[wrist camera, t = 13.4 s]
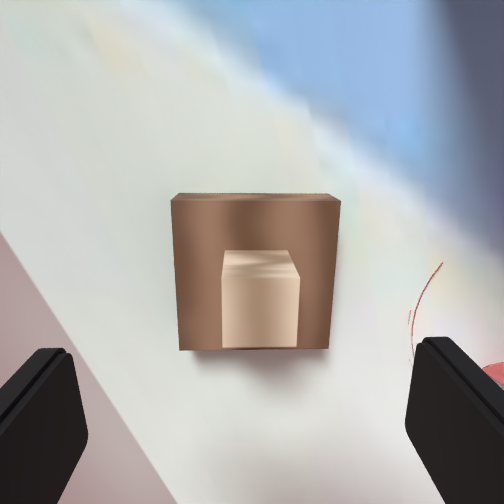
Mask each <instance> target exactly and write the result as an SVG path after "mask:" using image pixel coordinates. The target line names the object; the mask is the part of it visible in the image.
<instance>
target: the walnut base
mask: <svg viewBox="0 0 504 504" xmlns="http://www.w3.org/2000/svg"><path fill="white" fill-rule="evenodd" d="M340 206H341V201H340V200H338V199H336V198H335V197H333V196H331V195H330V194H270V193H179V194H177V195H176V196H175V197H174V198H173V199H172V200H171V216H172V233H173V250H174V267H175V284H176V301H177V317H178V334H179V351H181V350H257V349H328V348H329V336H330V324H331V312H332V300H333V289H334V277H335V265H336V253H337V241H338V229H339V218H340ZM225 250H288V252H289V255H290V257H291V259H292V261H293V263H294V266H295V268H296V270H297V272H298V274H299V277H300V291H299V309H298V327H297V345H296V347H233V348H223V347H222V282H221V278H222V270H223V261H224V253H225Z"/></svg>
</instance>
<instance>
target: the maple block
mask: <svg viewBox="0 0 504 504" xmlns="http://www.w3.org/2000/svg"><path fill="white" fill-rule="evenodd" d="M221 282H222V347H223V348H233V347H296V345H297V327H298V309H299V291H300V277H299V274H298V272H297V270H296V268H295V266H294V263H293V261H292V259H291V257H290V255H289V252H288V250H225V253H224V261H223V270H222V278H221Z"/></svg>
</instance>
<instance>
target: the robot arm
mask: <svg viewBox="0 0 504 504" xmlns="http://www.w3.org/2000/svg"><path fill="white" fill-rule="evenodd" d="M405 428H406V432H407V434H408V437H409V439H410V440H411V442H412V444H413V446H414V448H415V449H416V451H417V453H418V455H419V457H420V458H421V460H422V462H423V464H424V466H425V468H426V469H427V471H428V473H429V475H430V477H431V478H432V480H433V482H434V484H435V486H436V488H437V489H438V491H439V493H440V495H441V497H442V498H443V500H444V502H445V504H504V391H503V390H502V389H501V388H500V387H499V386H498V385H497V384H496V383H495V382H494V381H493V380H492V379H491V378H490V377H489V376H488V375H487V374H486V373H485V372H484V371H483V370H482V369H481V368H480V367H479V366H478V365H477V364H476V363H475V362H474V361H473V360H472V359H471V358H470V357H469V356H468V355H467V354H466V353H465V352H464V351H463V350H462V349H461V348H460V347H459V346H458V345H456V344H455V343H454V342H453V341H452V340H451V339H450V338H449V337H426V338H424V339H423V341H422V343H418V344H417V346H416V351H415V358H414V365H413V371H412V378H411V385H410V391H409V398H408V404H407V411H406V418H405ZM87 440H88V429H87V425H86V420H85V415H84V410H83V405H82V401H81V395H80V391H79V386H78V381H77V376H76V371H75V366H74V362H73V357H72V355H71V354H70V353H66V351H65V349H63V348H41V349H38V350H37V351H36V352H35V353H34V354H33V355H32V356H31V357H30V358H29V359H28V360H27V361H26V362H25V363H24V364H23V365H22V366H21V367H20V369H18V370H17V371H16V373H15V374H14V375H13V376H12V377H11V378H10V379H9V380H8V381H7V382H6V383H5V384H4V385H3V386H2V387H1V388H0V504H57V503H58V501H59V499H60V497H61V495H62V493H63V491H64V489H65V487H66V485H67V483H68V481H69V479H70V477H71V475H72V473H73V471H74V469H75V467H76V465H77V463H78V461H79V459H80V457H81V455H82V453H83V451H84V449H85V447H86V444H87Z"/></svg>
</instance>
